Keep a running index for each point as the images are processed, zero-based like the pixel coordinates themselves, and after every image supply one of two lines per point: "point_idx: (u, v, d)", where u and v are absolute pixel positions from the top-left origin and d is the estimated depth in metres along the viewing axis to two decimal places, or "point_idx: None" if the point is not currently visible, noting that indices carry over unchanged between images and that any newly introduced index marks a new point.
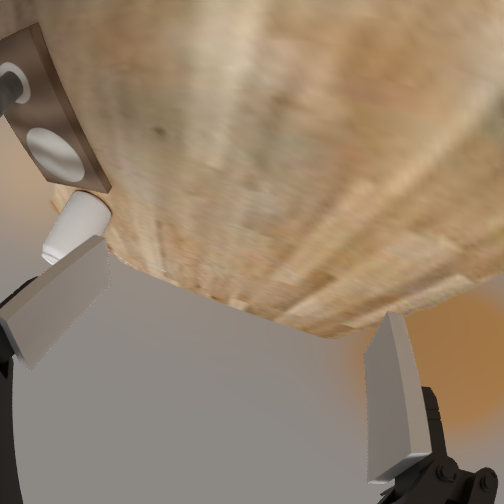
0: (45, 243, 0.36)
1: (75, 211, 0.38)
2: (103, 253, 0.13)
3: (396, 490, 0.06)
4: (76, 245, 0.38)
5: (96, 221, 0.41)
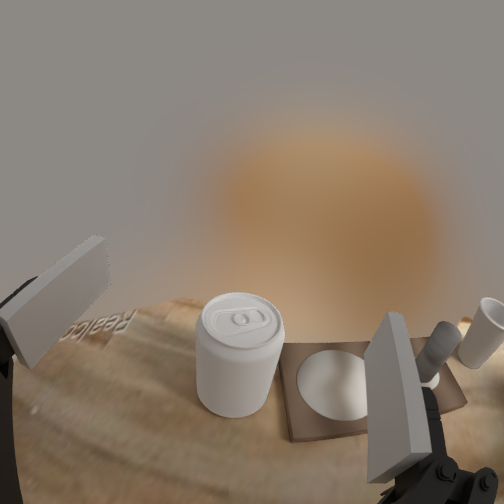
0: None
1: None
2: (104, 253, 0.13)
3: (395, 490, 0.06)
4: (265, 371, 0.25)
5: (247, 403, 0.27)
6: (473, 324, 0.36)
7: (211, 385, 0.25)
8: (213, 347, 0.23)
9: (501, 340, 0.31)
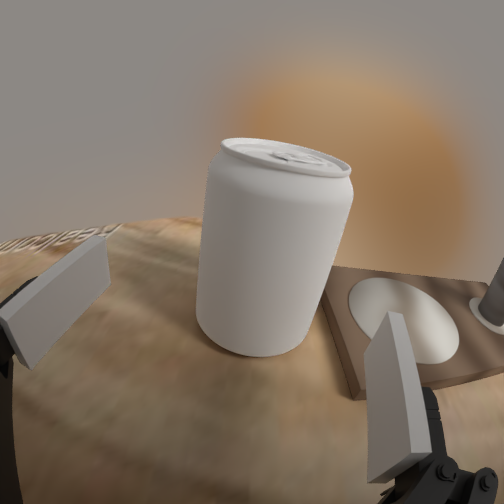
0: None
1: None
2: (104, 253, 0.13)
3: (396, 490, 0.06)
4: (327, 241, 0.14)
5: (286, 322, 0.16)
6: None
7: (226, 275, 0.15)
8: (241, 174, 0.13)
9: None
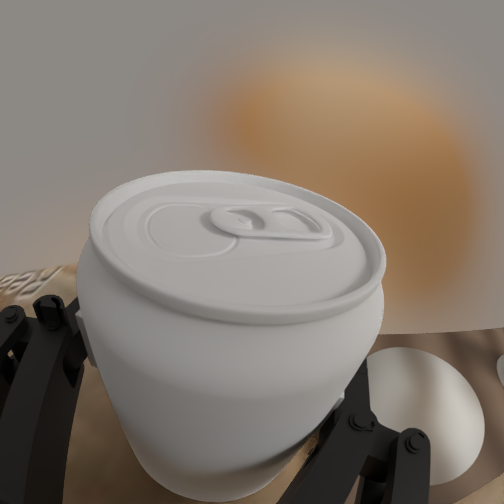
0: None
1: None
2: None
3: (318, 447, 0.08)
4: (313, 420, 0.06)
5: (241, 487, 0.08)
6: None
7: (132, 436, 0.07)
8: (99, 302, 0.05)
9: None
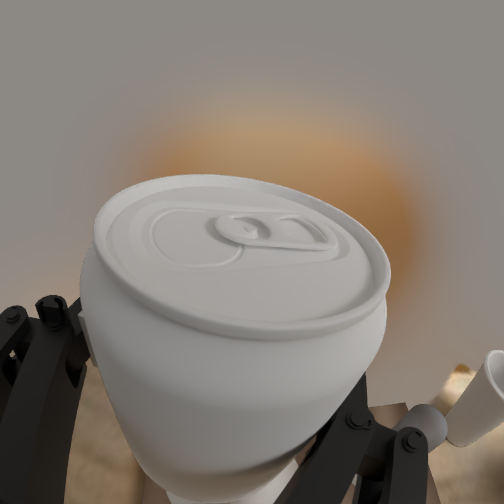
0: None
1: None
2: None
3: (316, 446, 0.08)
4: (312, 429, 0.06)
5: (238, 490, 0.08)
6: (470, 391, 0.22)
7: (132, 438, 0.07)
8: (103, 310, 0.05)
9: None
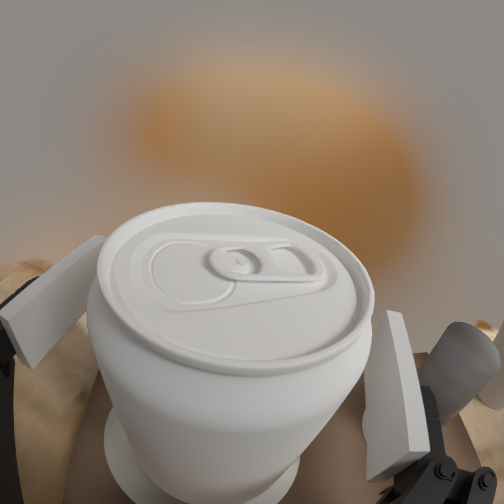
0: None
1: None
2: None
3: (394, 490, 0.06)
4: (301, 443, 0.06)
5: (238, 496, 0.08)
6: None
7: (139, 450, 0.08)
8: (110, 346, 0.05)
9: None
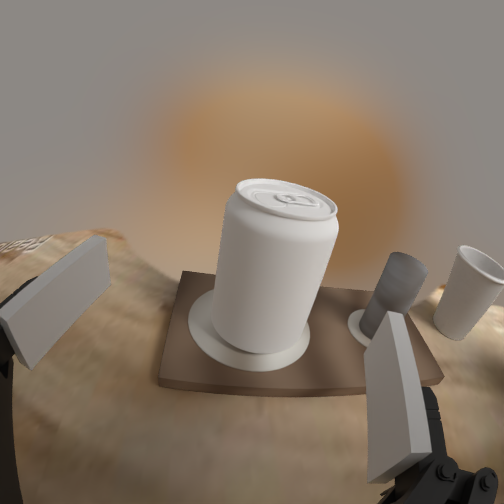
0: None
1: None
2: (103, 253, 0.13)
3: (396, 490, 0.06)
4: (313, 268, 0.19)
5: (281, 327, 0.21)
6: (451, 277, 0.30)
7: (236, 289, 0.20)
8: (249, 216, 0.18)
9: (490, 297, 0.25)
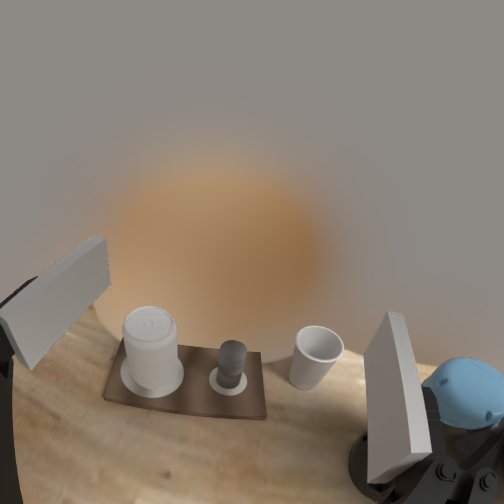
0: (176, 327, 0.41)
1: (174, 367, 0.42)
2: (103, 253, 0.13)
3: (396, 490, 0.06)
4: (159, 358, 0.38)
5: (154, 379, 0.40)
6: None
7: (131, 362, 0.39)
8: (127, 337, 0.37)
9: (317, 369, 0.44)
